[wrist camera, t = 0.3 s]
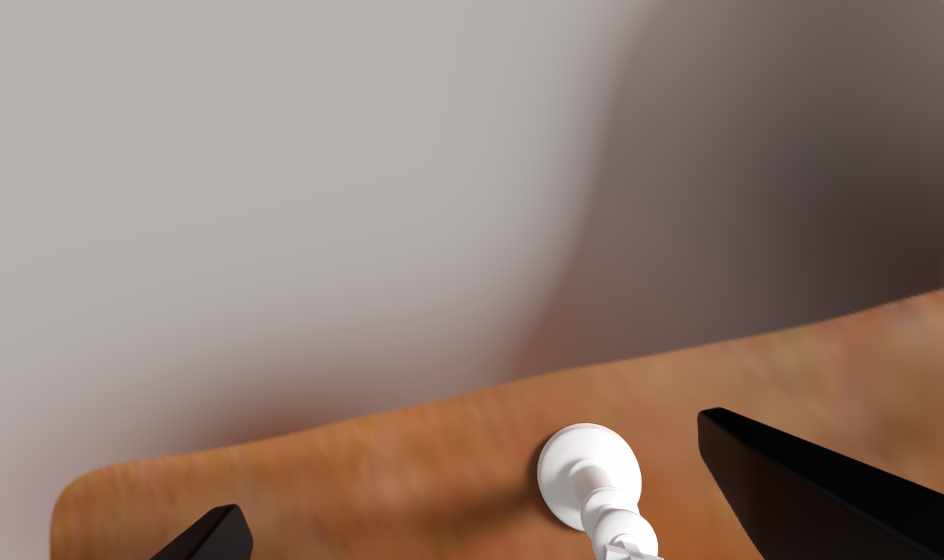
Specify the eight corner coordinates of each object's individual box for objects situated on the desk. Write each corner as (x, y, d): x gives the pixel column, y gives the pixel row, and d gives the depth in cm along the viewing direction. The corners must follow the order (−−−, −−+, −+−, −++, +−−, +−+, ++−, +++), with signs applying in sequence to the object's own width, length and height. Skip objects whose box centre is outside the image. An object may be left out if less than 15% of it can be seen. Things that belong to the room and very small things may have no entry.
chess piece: (632, 539, 21) (728, 703, 11) (529, 515, 22) (536, 650, 12) (645, 434, 22) (747, 503, 12) (545, 413, 22) (564, 462, 13)
